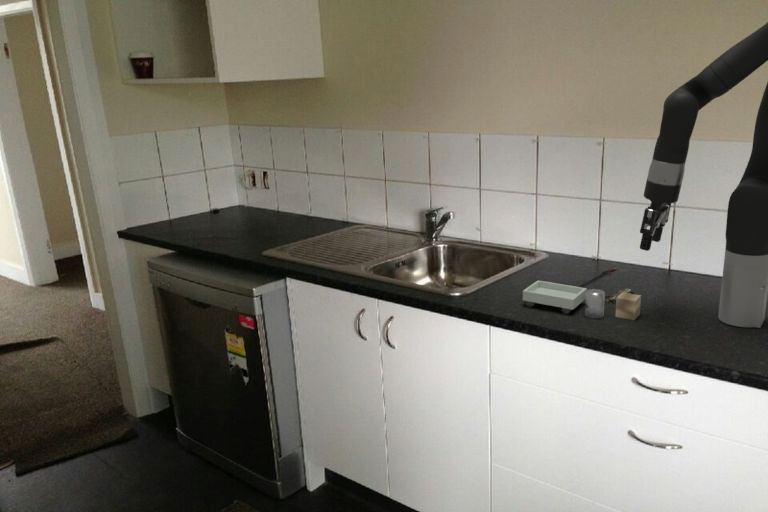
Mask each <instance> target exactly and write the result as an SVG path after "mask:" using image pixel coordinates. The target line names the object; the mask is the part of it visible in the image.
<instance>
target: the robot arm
mask: <svg viewBox="0 0 768 512" xmlns="http://www.w3.org/2000/svg"><path fill="white" fill-rule="evenodd" d="M766 62H768V22H766V23H765V24H763V25H762V26H761V27H759V28H757V30H755V31H754V32H752V33H751V34H749V35H748V36H746V37H745V38H743V39H741V40H740V41H738V42H737V43H735V44H733V46H731V47H730V48H729V49H727V50H726V51H725V52H723V53H722V54H721V55H719V56H718V57H717V58H715V59H714V60H712V62H710V63H709V64H708V65H707V66H705V68H703V69H702V70H701V71H700V72H699V73H698V74H697V75H695V76H694V77H692V78H690V79H689V80H688V81H686V82H684V84H681V85H680V86H679V87H678V88H676V89H675V90H674V91H673V92H671V93H670V94H669V95H668V96H667V97H666V98H665V100H664V101H663V102H664V103H663V107H662V108H663V109H662V110H663V111H662V118H661V122H660V129H659V134H658V137H657V139H656V142H655V145H654V149H653V150H654V151H653V154H652V160H651V162H650V164H649V169H648V172H647V178H646V181H645V187H644V191H643V197H644V198H645V199H646V200H649V201H650V202H651V203H650V205H648V206H647V207H645V209H644V212H643V216H642V222H641V225H640V229H639V234H642V235H641V240H640V243H639V249H640V250H642V251H646V252H647V251H650V250H651V247H652V243H653V242H656V243H659V242H660V241H661V239H662V234H663V230H664V227H665V226H666V224H667V223H668V221H669V218H670V217H669V216H670V212H671V207H672V204H675V203H677V202H678V200H679V198H680V197H679V196H680V194H681V193H680V192H681V189H682V184H683V180H684V175H685V170H686V162H687V157H688V152H689V148H690V141H691V137H692V135H693V132H694V128H695V126H696V125H695V124H696V122H697V118H698V114H699V111H700V110H702V109H703V108H704V107H705V106H707V105H708V104H709V103H711V102H712V101H713V100H715V99H716V98H719V97H721V96H724V95H725V94H726V93H728V92H730V90H732V89H733V88H735V87H736V86H737V85H738V84H740V83H741V82H743V80H745V79H746V78H747V77H749V76H750V75H752V74H753V73H754V72H755V71H756V70H758V69H759V68H760V67H762V66H763V65H764V64H765V63H766ZM760 101H761V102H759V103H760V104H759V106H758V110H757V115H756V119H755V124H754V131H753V138H752V148H751V153H750V156H749V160H748V162H747V164H746V167H745V168H744V169H745V170H744V172H743V174H742V176H741V179H740V181H739V183H738V185H737V186H736V188H734V190H733V191H732V192H731V194H730V196H729V200H728V205H727V212H726V224H725V225H726V226H725V249H724V250H725V251H724V259H723V269H722V276H721V277H722V278H721V285H720V286H721V288H720V294H719V295H720V296H719V306H718V317H717V318H718V320H719V321H721V322H722V323H724V324H727V325H730V326H734V327H740V328H758V329H761V327H762V326H763V323H764V321H765V318H766V317H765V316H766V309H767V301H768V81H767V83H766V86H765V89H764V91H763V94H762V97H761V100H760ZM648 227H649V229H648Z"/></svg>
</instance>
